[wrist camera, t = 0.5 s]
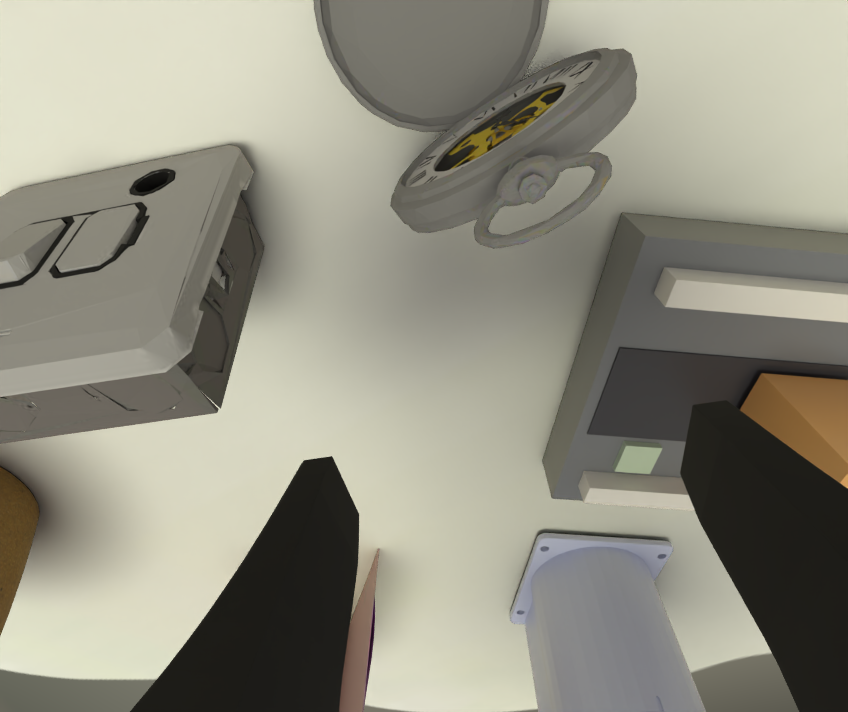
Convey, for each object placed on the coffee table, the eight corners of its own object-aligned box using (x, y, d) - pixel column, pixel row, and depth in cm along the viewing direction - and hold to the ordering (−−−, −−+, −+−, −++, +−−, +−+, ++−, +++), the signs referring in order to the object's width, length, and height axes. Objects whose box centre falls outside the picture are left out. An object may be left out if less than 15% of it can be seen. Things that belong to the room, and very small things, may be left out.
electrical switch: (249, 137, 17) (118, 275, 10) (301, 268, 20) (232, 445, 13) (7, 187, 18) (-272, 345, 11) (94, 304, 21) (-76, 485, 14)
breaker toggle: (812, 448, 21) (903, 549, 17) (720, 441, 20) (790, 542, 16) (862, 381, 19) (980, 477, 15) (761, 373, 18) (852, 468, 14)
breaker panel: (839, 482, 26) (889, 538, 23) (542, 461, 25) (556, 515, 22) (1033, 251, 19) (1140, 291, 16) (621, 212, 18) (657, 247, 15)
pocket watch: (365, -211, 12) (223, -724, 4) (640, -34, 14) (945, -121, 6) (280, 119, 16) (126, 215, 8) (500, 221, 18) (559, 384, 10)
